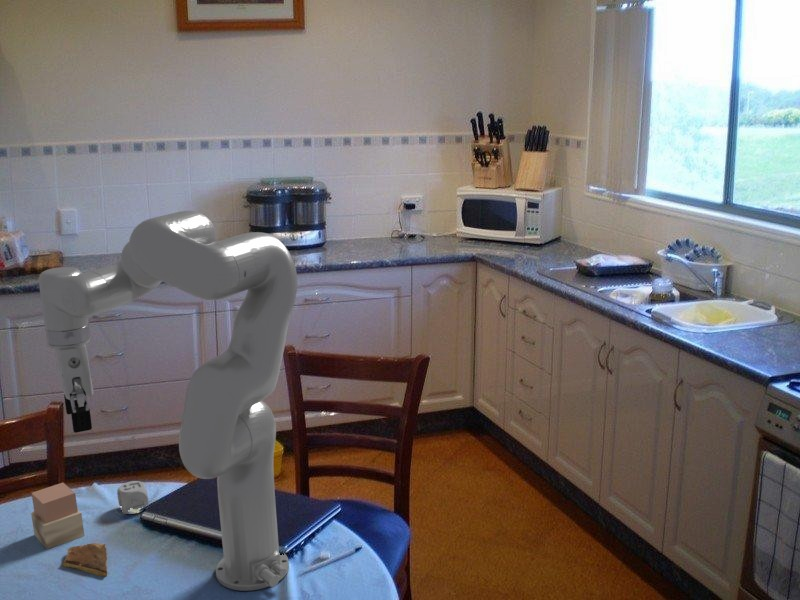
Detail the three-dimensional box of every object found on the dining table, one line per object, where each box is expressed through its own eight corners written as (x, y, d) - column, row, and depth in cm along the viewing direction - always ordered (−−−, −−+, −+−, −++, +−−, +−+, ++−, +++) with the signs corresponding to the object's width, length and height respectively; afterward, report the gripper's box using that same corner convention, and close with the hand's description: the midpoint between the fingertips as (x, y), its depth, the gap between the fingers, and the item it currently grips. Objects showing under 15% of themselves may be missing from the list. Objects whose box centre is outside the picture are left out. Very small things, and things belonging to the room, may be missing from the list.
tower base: (84, 536, 166) (81, 512, 165) (47, 550, 162) (43, 525, 160) (70, 522, 171) (67, 499, 170) (34, 535, 167) (30, 512, 166)
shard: (108, 580, 152) (106, 570, 152) (61, 589, 150) (60, 580, 149) (107, 548, 162) (106, 540, 162) (63, 556, 160) (62, 548, 159)
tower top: (77, 512, 165) (75, 492, 164) (46, 523, 161) (43, 503, 160) (65, 501, 169) (62, 482, 168) (34, 512, 166) (31, 492, 165)
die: (149, 510, 175) (147, 488, 173) (124, 517, 172) (121, 494, 171) (143, 500, 179) (141, 478, 178) (118, 507, 177) (116, 484, 175)
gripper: (97, 344, 154) (107, 433, 159) (82, 320, 169) (92, 402, 174) (51, 351, 151) (63, 442, 156) (41, 326, 166) (52, 409, 170)
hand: (79, 421), depth 165 cm, fingers open, 9 cm apart
